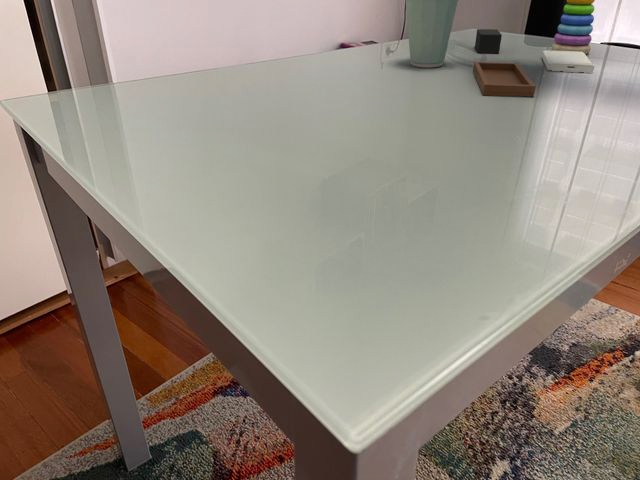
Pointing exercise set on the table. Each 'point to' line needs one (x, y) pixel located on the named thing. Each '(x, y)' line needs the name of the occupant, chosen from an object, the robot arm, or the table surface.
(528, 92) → the tray
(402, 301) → the table surface
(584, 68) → the hard drive
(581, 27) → the stacking toy
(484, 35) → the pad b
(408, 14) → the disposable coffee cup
